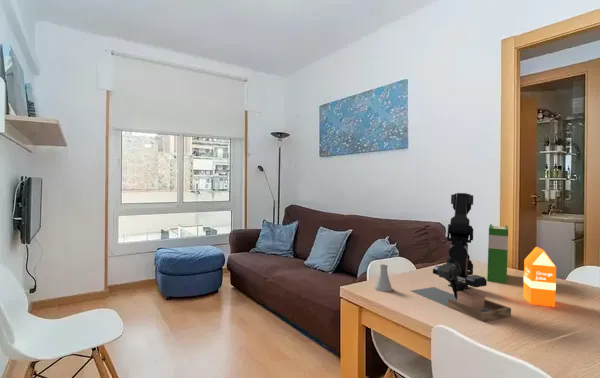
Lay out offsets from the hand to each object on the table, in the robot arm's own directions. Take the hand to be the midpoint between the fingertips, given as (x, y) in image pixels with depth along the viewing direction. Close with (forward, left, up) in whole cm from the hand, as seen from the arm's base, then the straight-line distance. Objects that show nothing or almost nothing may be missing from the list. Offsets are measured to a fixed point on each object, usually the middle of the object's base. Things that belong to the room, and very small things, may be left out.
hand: (457, 298), depth 120 cm
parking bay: (0, +8, -1) cm, 8 cm away
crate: (0, +5, -1) cm, 5 cm away
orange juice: (-31, +10, -2) cm, 33 cm away
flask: (+15, -23, -2) cm, 27 cm away
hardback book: (-47, -17, -2) cm, 50 cm away
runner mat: (0, -1, -2) cm, 2 cm away
